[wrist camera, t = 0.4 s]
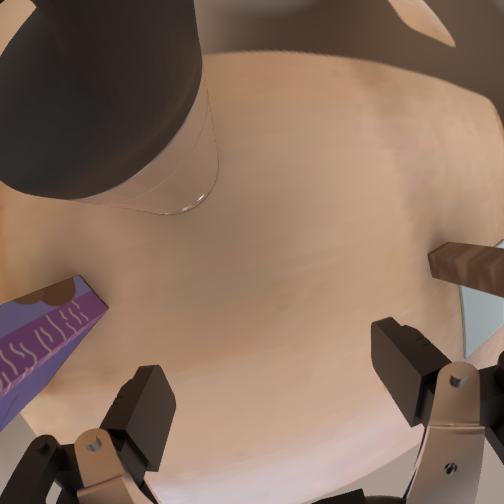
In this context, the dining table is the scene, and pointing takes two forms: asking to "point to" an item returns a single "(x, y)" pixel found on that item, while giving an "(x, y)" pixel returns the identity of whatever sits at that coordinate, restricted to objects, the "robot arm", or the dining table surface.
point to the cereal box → (41, 338)
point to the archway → (470, 266)
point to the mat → (480, 315)
